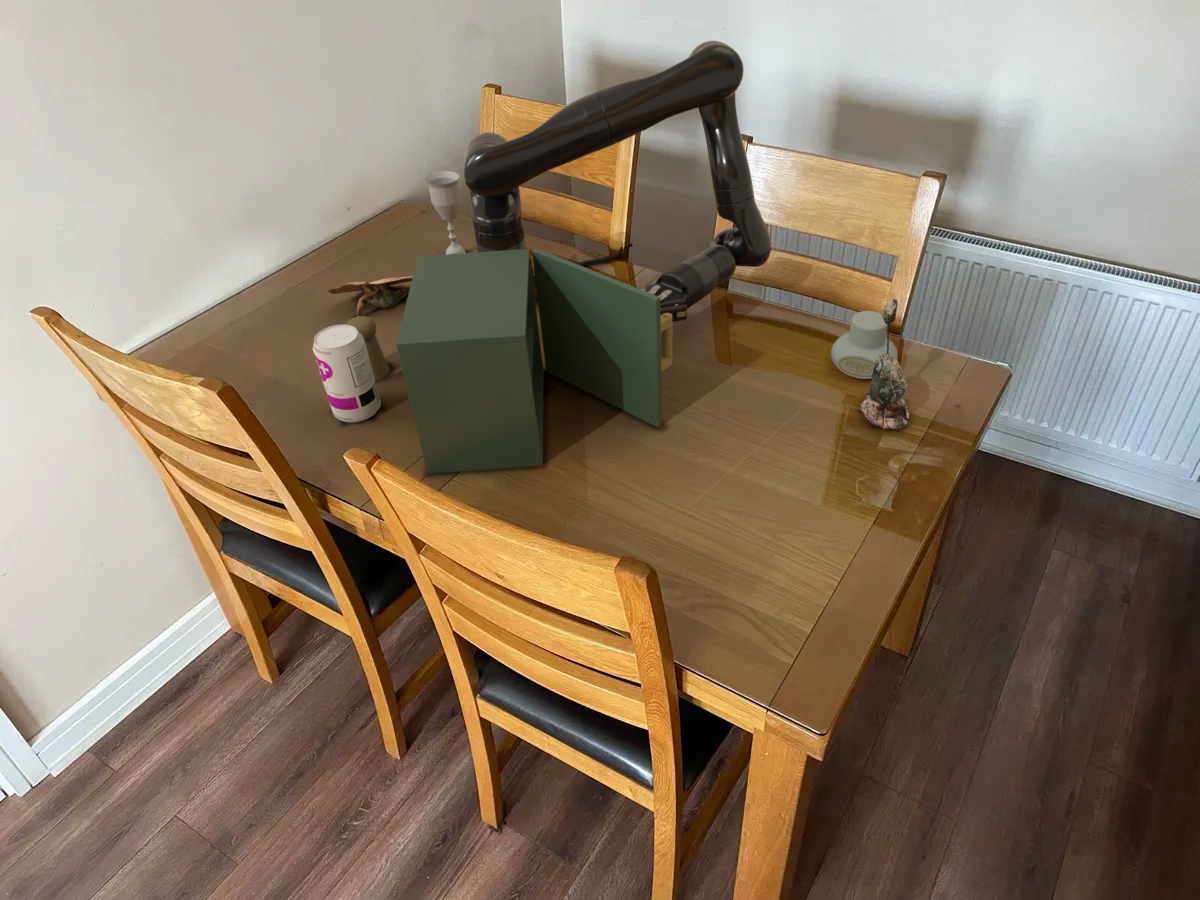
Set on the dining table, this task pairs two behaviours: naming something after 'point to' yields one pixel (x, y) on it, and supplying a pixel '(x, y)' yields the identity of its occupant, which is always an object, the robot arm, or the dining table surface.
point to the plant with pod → (887, 385)
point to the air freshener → (862, 345)
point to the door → (603, 335)
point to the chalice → (446, 202)
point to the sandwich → (375, 292)
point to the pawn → (371, 345)
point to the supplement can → (346, 373)
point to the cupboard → (474, 361)
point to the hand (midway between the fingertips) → (624, 324)
